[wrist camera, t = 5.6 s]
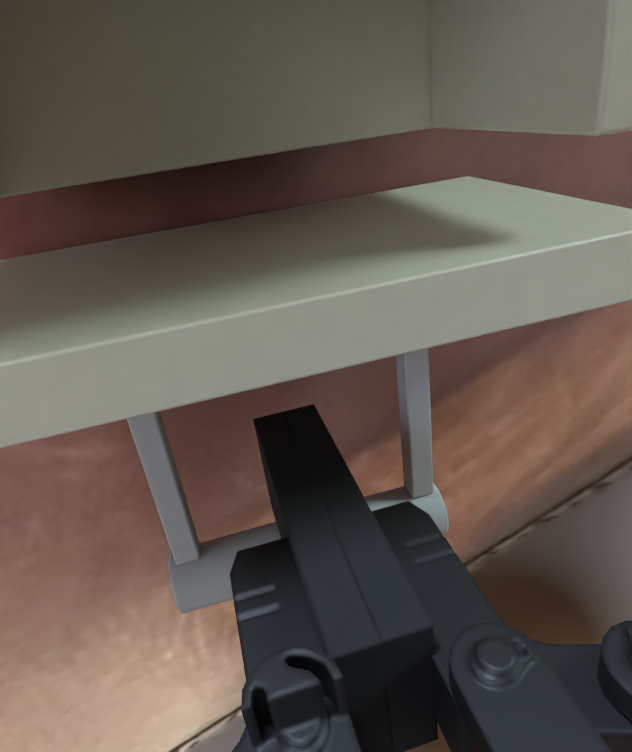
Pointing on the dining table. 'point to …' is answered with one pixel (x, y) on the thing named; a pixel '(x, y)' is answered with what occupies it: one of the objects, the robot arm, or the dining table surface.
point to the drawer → (290, 212)
